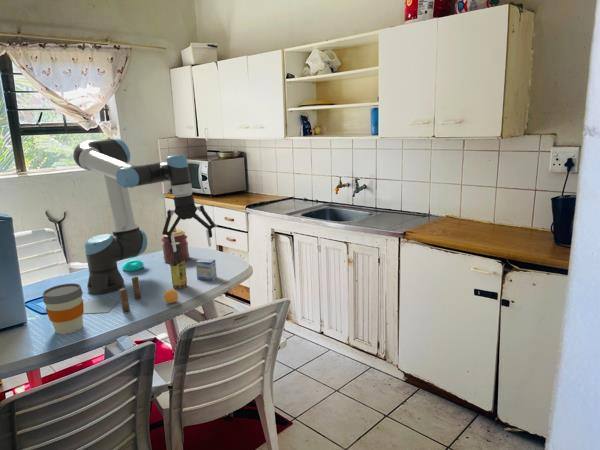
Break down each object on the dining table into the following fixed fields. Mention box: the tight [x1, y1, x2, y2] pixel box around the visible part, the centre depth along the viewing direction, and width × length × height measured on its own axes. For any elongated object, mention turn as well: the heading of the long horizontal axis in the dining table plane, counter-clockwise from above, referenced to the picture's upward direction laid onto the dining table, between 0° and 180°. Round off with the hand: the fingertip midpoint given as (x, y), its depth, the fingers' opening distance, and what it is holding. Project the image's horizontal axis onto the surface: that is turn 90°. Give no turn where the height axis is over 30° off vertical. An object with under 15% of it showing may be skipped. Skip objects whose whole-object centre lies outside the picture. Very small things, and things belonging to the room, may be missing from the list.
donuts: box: [122, 254, 144, 272], centre depth 223 cm, size 10×10×10 cm
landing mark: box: [83, 297, 121, 315], centre depth 180 cm, size 14×14×1 cm
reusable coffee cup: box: [42, 283, 84, 335], centre depth 160 cm, size 13×12×15 cm
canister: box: [161, 227, 190, 264], centre depth 232 cm, size 13×13×18 cm
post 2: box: [131, 276, 142, 300], centre depth 185 cm, size 3×3×9 cm
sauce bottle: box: [169, 242, 188, 290], centre depth 194 cm, size 7×6×20 cm
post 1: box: [119, 287, 131, 314], centre depth 173 cm, size 3×3×9 cm
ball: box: [163, 288, 179, 304], centre depth 179 cm, size 6×6×6 cm
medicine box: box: [195, 258, 218, 281], centre depth 204 cm, size 8×4×9 cm, turn 76°
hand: (192, 248), depth 176 cm, fingers open, 13 cm apart
